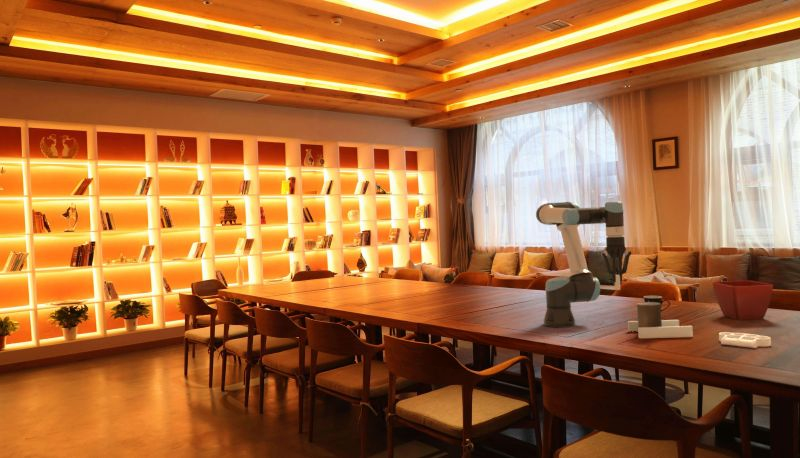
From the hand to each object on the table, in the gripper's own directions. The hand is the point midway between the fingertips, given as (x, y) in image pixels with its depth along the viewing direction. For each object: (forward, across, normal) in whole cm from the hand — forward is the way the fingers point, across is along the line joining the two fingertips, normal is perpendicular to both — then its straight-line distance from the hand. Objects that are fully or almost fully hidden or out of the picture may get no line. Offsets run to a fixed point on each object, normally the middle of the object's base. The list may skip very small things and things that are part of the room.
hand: (617, 289), depth 245 cm
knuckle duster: (+21, +41, -22) cm, 51 cm away
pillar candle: (+21, +13, 0) cm, 24 cm away
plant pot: (+21, +68, +32) cm, 78 cm away
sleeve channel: (+20, +17, 0) cm, 27 cm away
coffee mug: (+21, +30, +41) cm, 55 cm away
